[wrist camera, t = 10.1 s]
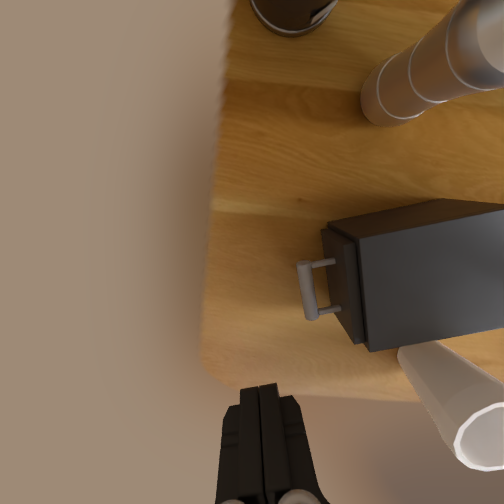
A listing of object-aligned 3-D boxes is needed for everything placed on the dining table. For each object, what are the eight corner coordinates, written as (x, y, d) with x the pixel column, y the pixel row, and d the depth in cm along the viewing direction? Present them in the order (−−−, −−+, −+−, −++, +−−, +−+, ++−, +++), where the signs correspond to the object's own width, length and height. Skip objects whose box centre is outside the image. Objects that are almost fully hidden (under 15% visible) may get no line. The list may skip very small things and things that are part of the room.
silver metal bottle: (362, 61, 28) (623, -207, 8) (420, 73, 28) (798, -159, 9) (347, 125, 29) (535, 23, 10) (402, 135, 30) (684, 55, 11)
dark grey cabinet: (338, 308, 36) (369, 352, 27) (327, 222, 32) (358, 238, 23) (442, 288, 35) (510, 326, 26) (442, 198, 32) (521, 205, 23)
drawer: (300, 315, 35) (315, 352, 28) (287, 236, 32) (299, 254, 24) (429, 290, 34) (480, 321, 27) (428, 207, 31) (485, 216, 24)
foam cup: (439, 379, 40) (528, 472, 27) (381, 378, 39) (443, 470, 27) (456, 326, 37) (562, 401, 24) (394, 324, 37) (469, 398, 24)
